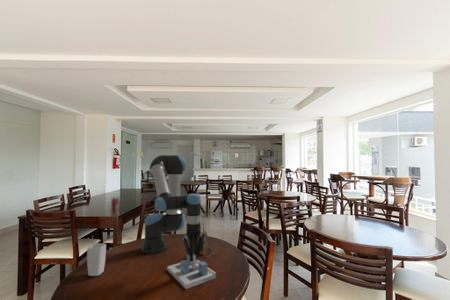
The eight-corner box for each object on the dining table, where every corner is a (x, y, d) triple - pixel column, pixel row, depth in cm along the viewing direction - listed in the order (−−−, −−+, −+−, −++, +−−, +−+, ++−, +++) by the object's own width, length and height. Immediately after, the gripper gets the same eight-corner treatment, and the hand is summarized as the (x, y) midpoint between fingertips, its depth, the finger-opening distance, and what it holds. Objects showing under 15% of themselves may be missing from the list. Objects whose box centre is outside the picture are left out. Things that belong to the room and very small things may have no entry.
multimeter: (213, 258, 138) (213, 226, 139) (197, 257, 140) (197, 225, 141) (218, 249, 153) (218, 220, 154) (204, 248, 155) (204, 219, 156)
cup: (84, 277, 116) (85, 248, 117) (94, 270, 124) (94, 243, 124) (98, 278, 116) (99, 248, 117) (106, 271, 123) (107, 243, 124)
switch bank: (167, 270, 124) (167, 265, 124) (194, 261, 134) (194, 257, 134) (186, 289, 106) (186, 283, 106) (215, 278, 116) (215, 272, 116)
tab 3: (198, 272, 117) (198, 262, 117) (203, 270, 119) (203, 261, 119) (202, 275, 114) (202, 265, 114) (207, 273, 116) (207, 263, 116)
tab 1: (180, 271, 119) (180, 261, 119) (185, 269, 120) (185, 259, 121) (183, 274, 115) (183, 264, 116) (189, 272, 117) (189, 262, 117)
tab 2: (186, 262, 129) (186, 253, 129) (191, 261, 130) (191, 252, 131) (189, 265, 125) (189, 256, 126) (194, 263, 127) (194, 254, 127)
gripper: (185, 226, 115) (185, 273, 114) (207, 222, 123) (207, 266, 122) (179, 222, 121) (179, 267, 120) (200, 219, 129) (200, 261, 128)
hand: (193, 266), depth 121 cm, fingers closed
